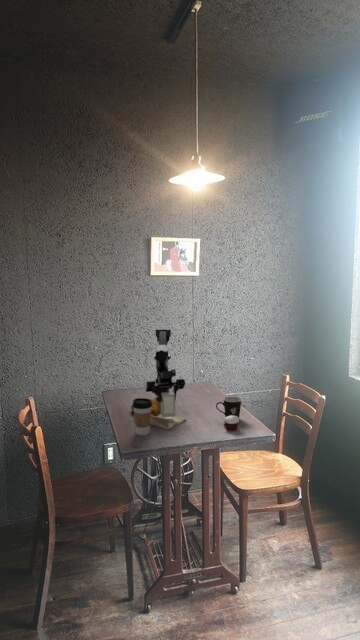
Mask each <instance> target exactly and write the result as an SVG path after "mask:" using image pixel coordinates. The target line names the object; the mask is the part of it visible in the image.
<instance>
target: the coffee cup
mask: <svg viewBox="0 0 360 640" xmlns="http://www.w3.org/2000/svg"><path fill="white" fill-rule="evenodd" d="M144 398H145V397H143V398H140V397H138V398H134V399H133V401H132V404H133V407H134V412H133V416H134V418H133V419H134V424H135V434H136V435H138V436H147V435H150V432H151V429H150V428H151V424H150V420H151V407H152V402H151V400H152V399H151V398H146V399H144ZM150 399H151V400H150Z"/></svg>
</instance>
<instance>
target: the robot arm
mask: <svg viewBox="0 0 360 640" xmlns="http://www.w3.org/2000/svg"><path fill="white" fill-rule="evenodd" d="M171 335H172V330H171V329H169V328H157V329H155V337H156V340H157V342H158V346H157V347H156V348H155V352H154V355H153V360H154V361H155V369H156V378H155V380H150V381H147V382H146V383H145V392H147V393H148V392H150V393H152V394H154V395H155V396H156V397H155V399H156V400H159V401H160V403H161V402H162V396H161V393H163V392H170V390H171V389H172V391H171V392H174V393H175V401H176V398H177V392H178V391H180V390H183V389H184V387H185V385H186V379H184V378H176V379H175V381H173V377H176V376H177V373H176V369H175V368H174V369H171V370H169V367H168V362H169V361H170V360H171V358H172V354H171V353H170V352H169V348H168V343H169V342H170V339H171Z"/></svg>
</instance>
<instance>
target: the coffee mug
mask: <svg viewBox="0 0 360 640" xmlns="http://www.w3.org/2000/svg"><path fill="white" fill-rule="evenodd" d="M238 401H241V402H242V398H241V397H238V396H225V397H223V402H222V401H218V402H217V403H216V404H215V408H216V410H218V411H219V412H220V413H221V414H224V416H225V417H224V419H225V418H226V417H228V416H230V415H232V416H235V412H236V408H237V404H238ZM219 404H222V405H223V407H224V408H223V409H224V411H222V410H221V409H219V408H218V405H219ZM241 404H242V403H241ZM241 404H240V407H239V411H238V415H237V417H238V418H239V419H240V414H241V408H242V405H241Z"/></svg>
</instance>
